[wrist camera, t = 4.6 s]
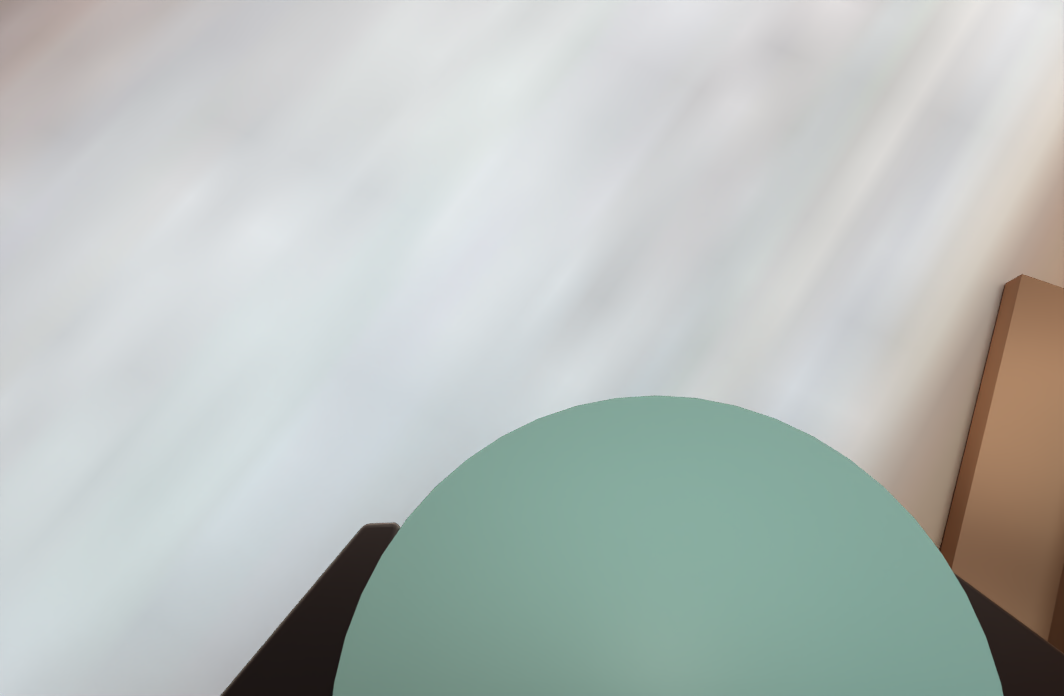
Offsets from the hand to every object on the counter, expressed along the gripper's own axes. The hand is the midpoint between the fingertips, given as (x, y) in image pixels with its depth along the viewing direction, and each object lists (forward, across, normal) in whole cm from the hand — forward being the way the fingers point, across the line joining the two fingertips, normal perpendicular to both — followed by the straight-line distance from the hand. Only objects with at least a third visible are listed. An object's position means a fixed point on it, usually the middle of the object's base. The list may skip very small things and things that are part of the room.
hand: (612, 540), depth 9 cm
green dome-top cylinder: (+4, 0, +6) cm, 7 cm away
